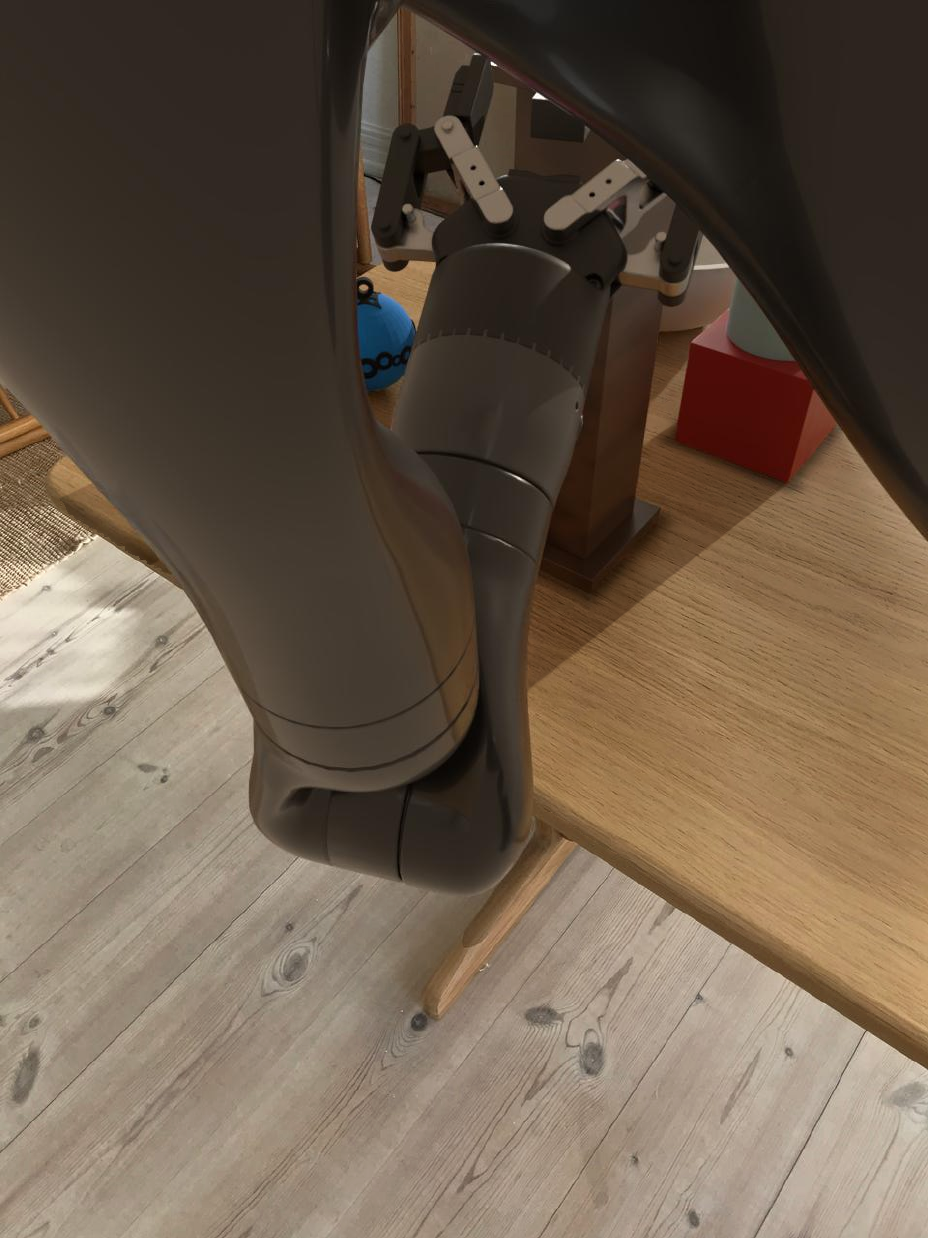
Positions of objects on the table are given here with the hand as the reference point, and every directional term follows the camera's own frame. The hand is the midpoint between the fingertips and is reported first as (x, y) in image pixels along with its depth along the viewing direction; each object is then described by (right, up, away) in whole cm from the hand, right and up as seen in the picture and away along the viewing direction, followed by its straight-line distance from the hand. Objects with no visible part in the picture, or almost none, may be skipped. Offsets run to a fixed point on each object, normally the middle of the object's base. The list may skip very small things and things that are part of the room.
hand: (575, 75), depth 45 cm
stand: (+3, -18, +29) cm, 35 cm away
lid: (+1, +2, +4) cm, 5 cm away
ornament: (-13, -4, +44) cm, 46 cm away
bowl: (+14, +7, +55) cm, 57 cm away
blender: (+19, -9, +38) cm, 44 cm away
